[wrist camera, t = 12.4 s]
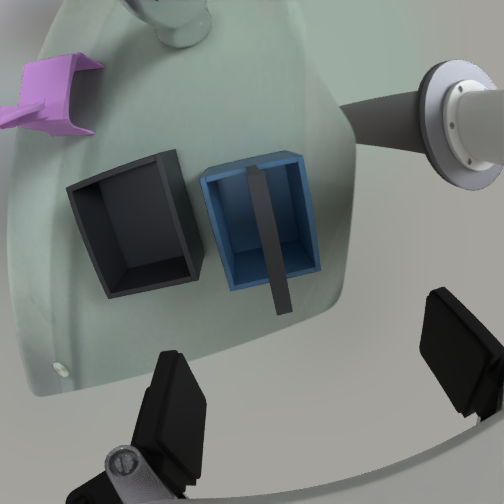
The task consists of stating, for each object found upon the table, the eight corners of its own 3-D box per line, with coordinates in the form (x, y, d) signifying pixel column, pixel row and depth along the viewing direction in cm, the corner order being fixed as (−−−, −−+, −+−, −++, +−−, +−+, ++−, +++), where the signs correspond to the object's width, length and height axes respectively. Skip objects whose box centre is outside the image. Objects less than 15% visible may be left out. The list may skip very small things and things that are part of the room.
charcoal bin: (175, 149, 29) (160, 152, 23) (204, 253, 34) (198, 280, 27) (94, 176, 29) (65, 187, 23) (127, 271, 34) (108, 299, 28)
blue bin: (285, 150, 30) (321, 160, 17) (302, 240, 34) (338, 300, 21) (207, 167, 30) (188, 189, 18) (231, 256, 34) (230, 325, 22)
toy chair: (112, 60, 24) (37, 23, 10) (102, 134, 28) (17, 142, 14) (55, 68, 23) (-29, 50, 10) (46, 136, 27) (-43, 151, 13)
